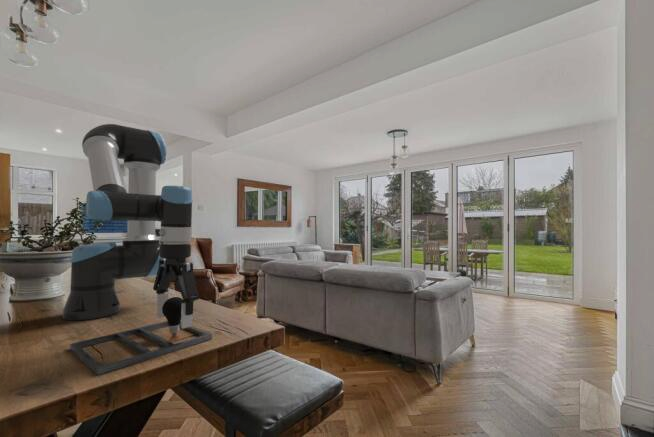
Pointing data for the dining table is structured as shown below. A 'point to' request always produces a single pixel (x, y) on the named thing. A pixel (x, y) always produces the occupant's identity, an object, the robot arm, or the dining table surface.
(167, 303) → the light bulb
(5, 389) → the dining table surface
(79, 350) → the gray divided frame
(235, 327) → the dining table surface
